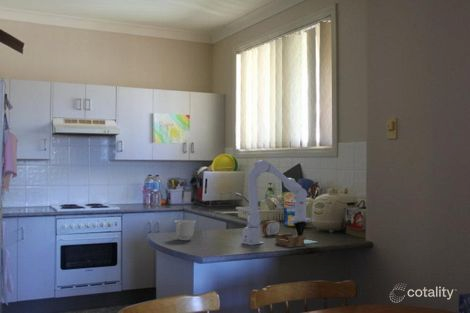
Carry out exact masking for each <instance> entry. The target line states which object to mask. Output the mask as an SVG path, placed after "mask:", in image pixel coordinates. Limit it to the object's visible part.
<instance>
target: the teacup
mask: <svg viewBox="0 0 470 313" xmlns="http://www.w3.org/2000/svg"><path fill="white" fill-rule="evenodd" d="M173 222H174V225H175V231H176V232H175V233H176V235H177V237H178V238H179V240H180V241H189V240H191V237H192V236H193V235H194V230H195V224H196V222H197V221H196V220H193V219H176V220H174V221H173Z"/></svg>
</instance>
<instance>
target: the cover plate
mask: <svg viewBox="0 0 470 313" xmlns="http://www.w3.org/2000/svg"><path fill="white" fill-rule="evenodd" d="M304 243H305V245H313V244H318V243H319V242H318V241H316V240H310V239H304ZM305 245H304V246H305Z"/></svg>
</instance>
